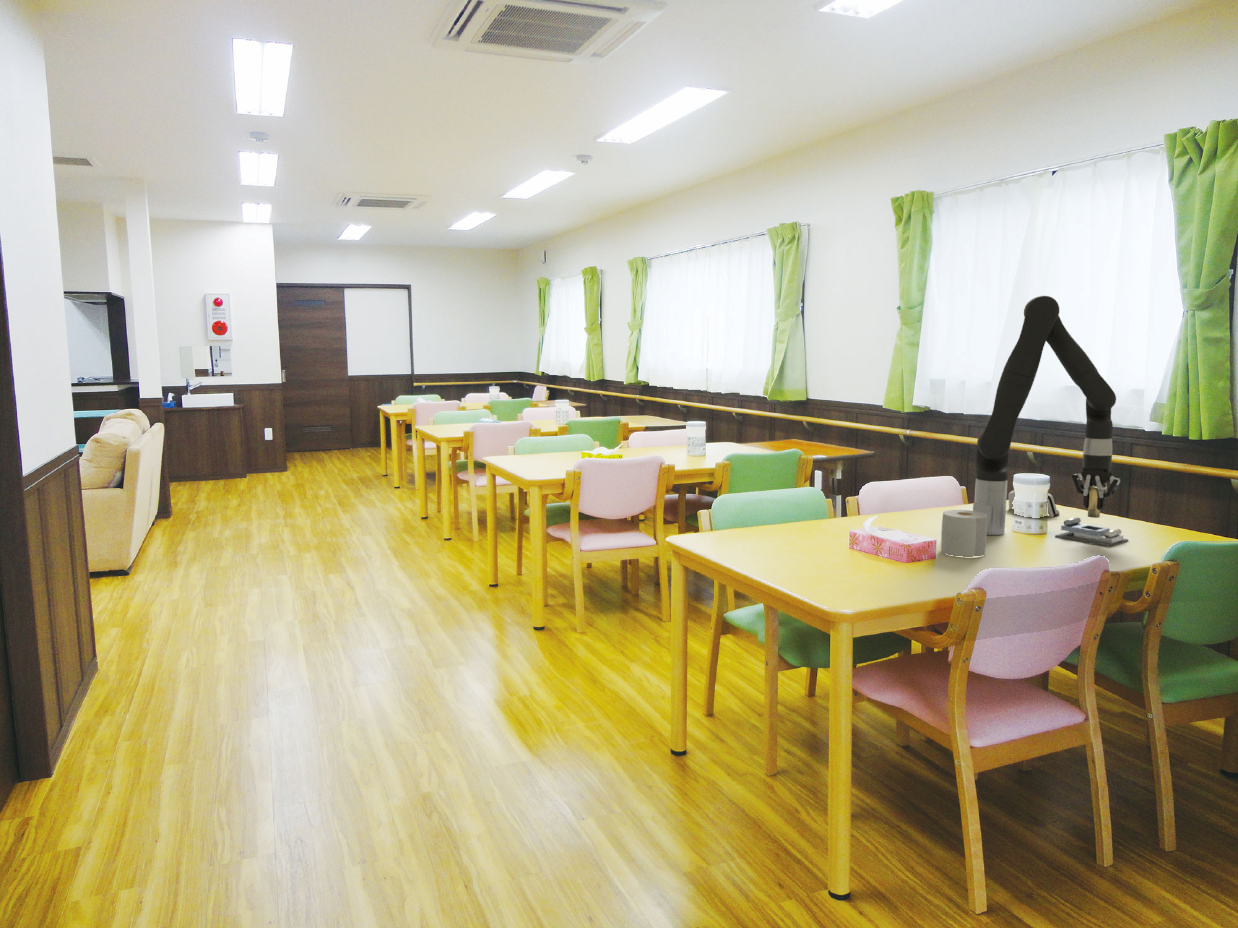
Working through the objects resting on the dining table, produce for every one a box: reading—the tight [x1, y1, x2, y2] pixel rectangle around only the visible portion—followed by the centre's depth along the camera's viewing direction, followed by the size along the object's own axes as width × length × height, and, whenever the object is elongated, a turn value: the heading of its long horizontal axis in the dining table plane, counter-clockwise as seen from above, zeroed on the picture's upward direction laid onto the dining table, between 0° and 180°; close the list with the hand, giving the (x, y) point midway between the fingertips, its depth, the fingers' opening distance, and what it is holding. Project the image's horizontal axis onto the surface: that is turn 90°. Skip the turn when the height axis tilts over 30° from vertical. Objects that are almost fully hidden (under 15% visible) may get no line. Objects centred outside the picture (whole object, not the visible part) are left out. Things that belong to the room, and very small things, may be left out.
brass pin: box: [1087, 486, 1101, 519], centre depth 250 cm, size 3×3×9 cm
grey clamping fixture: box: [1060, 516, 1124, 544], centre depth 251 cm, size 7×15×5 cm, turn 35°
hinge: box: [1007, 489, 1060, 518], centre depth 290 cm, size 17×5×10 cm, turn 29°
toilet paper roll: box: [940, 509, 988, 557], centre depth 236 cm, size 12×12×12 cm
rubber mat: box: [1054, 531, 1129, 548], centre depth 251 cm, size 12×16×1 cm
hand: (1094, 508), depth 250 cm, fingers closed on brass pin, 3 cm apart
